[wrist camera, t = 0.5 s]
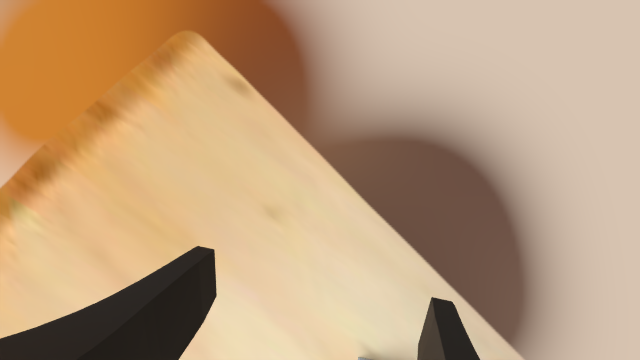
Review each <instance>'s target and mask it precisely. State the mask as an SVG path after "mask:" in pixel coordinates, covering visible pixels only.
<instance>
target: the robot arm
mask: <svg viewBox="0 0 640 360" xmlns="http://www.w3.org/2000/svg"><path fill="white" fill-rule="evenodd" d="M216 296H217V294H216V274H215V253H214V249H209V248H205V247H200V246H197V247H195V248H193V249H192V250H190V251H188V252H187V253H185V254H183V255H182V256H180V257H178V258H177V259H175V260H173V261H172V262H170V263H168V264H167V265H165V266H163V267H162V268H160V269H158V270H157V271H155V272H153V273H152V274H150V275H148V276H147V277H145V278H143V279H141V280H139V281H138V282H136V283H134V284H132V285H130V286H128V287H126V288H125V289H123V290H121V291H119V292H117V293H115V294H113V295H111V296H109V297H107V298H105V299H103V300H101V301H99V302H97V303H95V304H93V305H90V306H88V307H86V308H84V309H81V310H79V311H77V312H74V313H72V314H69V315H67V316H64V317H62V318H59V319H56V320H54V321H51V322H48V323H46V324H43V325H41V326H38V327H35V328H32V329H29V330H26V331H23V332H20V333H17V334H14V335H11V336H7V337H4V338H1V339H0V360H179V358H180V357H181V355H182V354H183V352H184V351H185V349H186V348H187V346H188V345H189V343H190V342H191V340H192V339H193V337H194V336H195V334H196V333H197V331H198V330H199V328H200V327H201V325H202V323H203V322H204V320H205V318H206V316H207V314H208V312H209V310H210V308H211V306H212V304H213V302H214V300H215V298H216ZM417 360H480V359H479V357H478V355H477V353H476V351H475V349H474V347H473V345H472V343H471V341H470V339H469V337H468V335H467V333H466V330H465V328H464V326H463V324H462V322H461V319H460V317H459V315H458V312H457V310H456V307H455V305H454V304H453V302H451V301H447V300H442V299H438V298H433V297H432V298H431V301H430V305H429V308H428V312H427V315H426V319H425V323H424V326H423V330H422V333H421V337H420V340H419V344H418V359H417Z"/></svg>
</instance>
